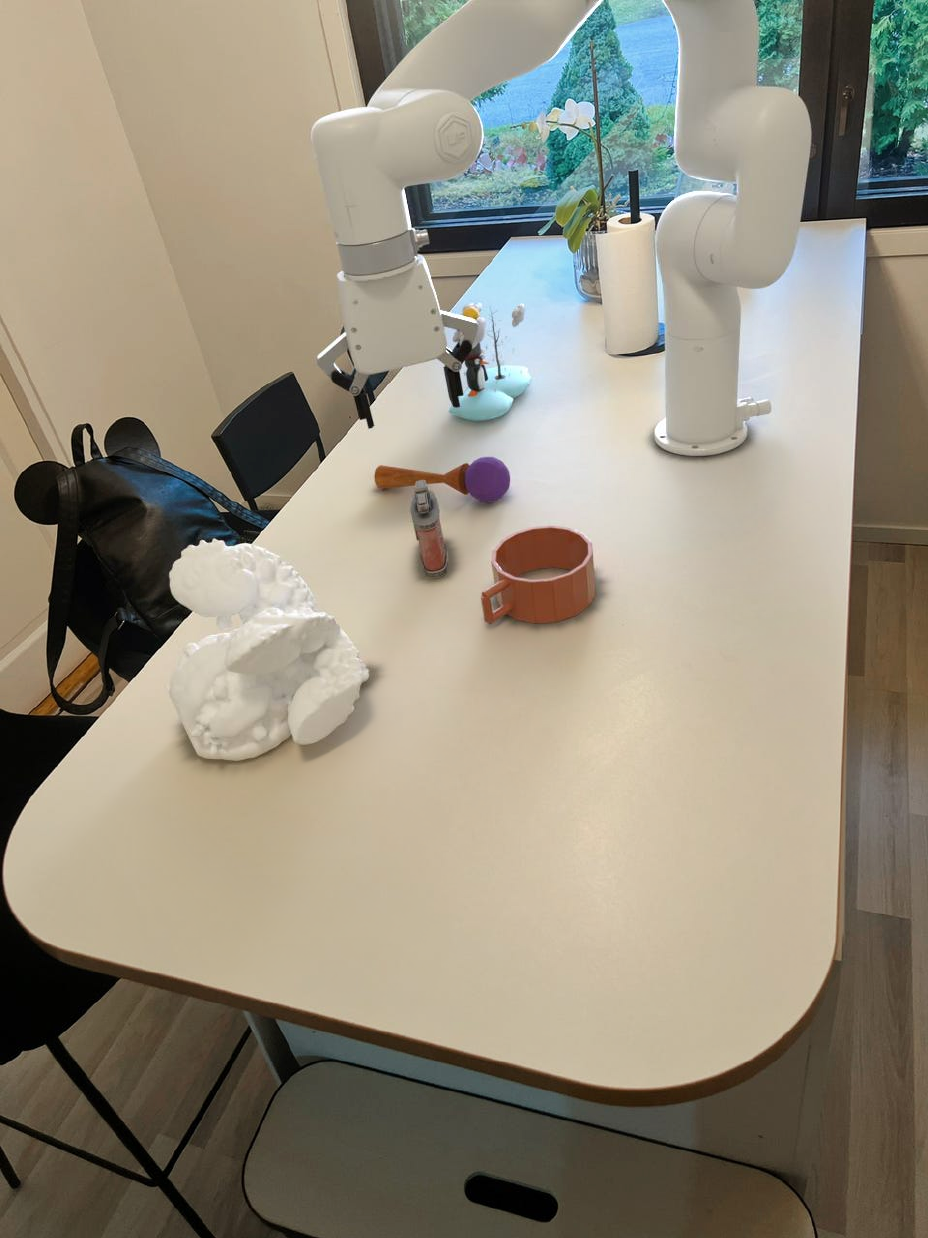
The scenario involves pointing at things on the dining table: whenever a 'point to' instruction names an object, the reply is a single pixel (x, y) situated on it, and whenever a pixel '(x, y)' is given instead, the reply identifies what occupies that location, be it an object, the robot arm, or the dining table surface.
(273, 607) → the cauliflower
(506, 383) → the penguin figurine
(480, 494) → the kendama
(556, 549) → the mug
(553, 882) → the dining table surface
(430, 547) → the lighter
